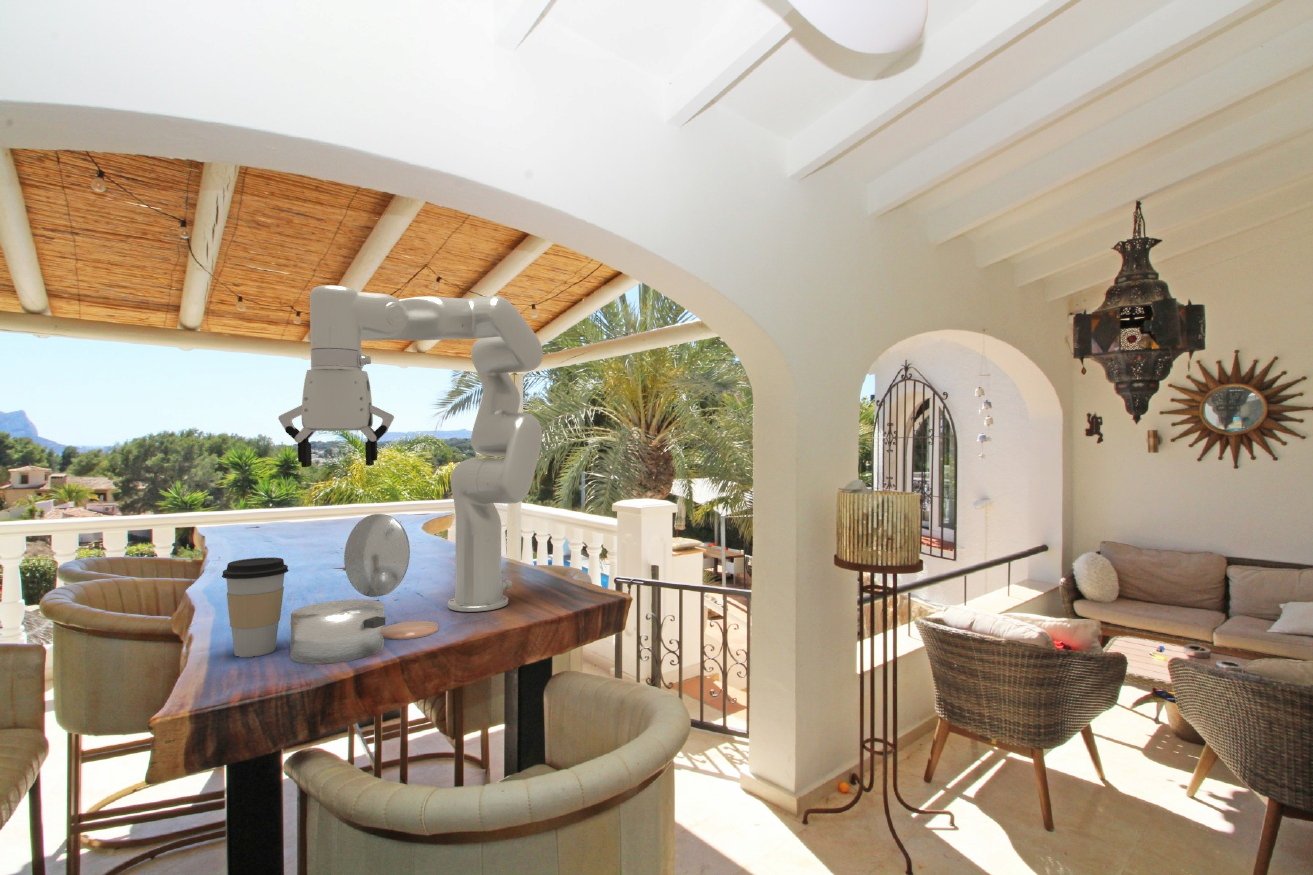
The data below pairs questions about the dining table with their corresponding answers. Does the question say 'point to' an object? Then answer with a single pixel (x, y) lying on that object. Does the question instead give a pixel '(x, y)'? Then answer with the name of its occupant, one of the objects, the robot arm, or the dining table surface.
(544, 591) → the dining table surface
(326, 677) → the dining table surface
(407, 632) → the coaster
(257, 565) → the coffee cup
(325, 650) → the pot
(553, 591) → the dining table surface
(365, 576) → the lid
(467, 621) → the dining table surface
